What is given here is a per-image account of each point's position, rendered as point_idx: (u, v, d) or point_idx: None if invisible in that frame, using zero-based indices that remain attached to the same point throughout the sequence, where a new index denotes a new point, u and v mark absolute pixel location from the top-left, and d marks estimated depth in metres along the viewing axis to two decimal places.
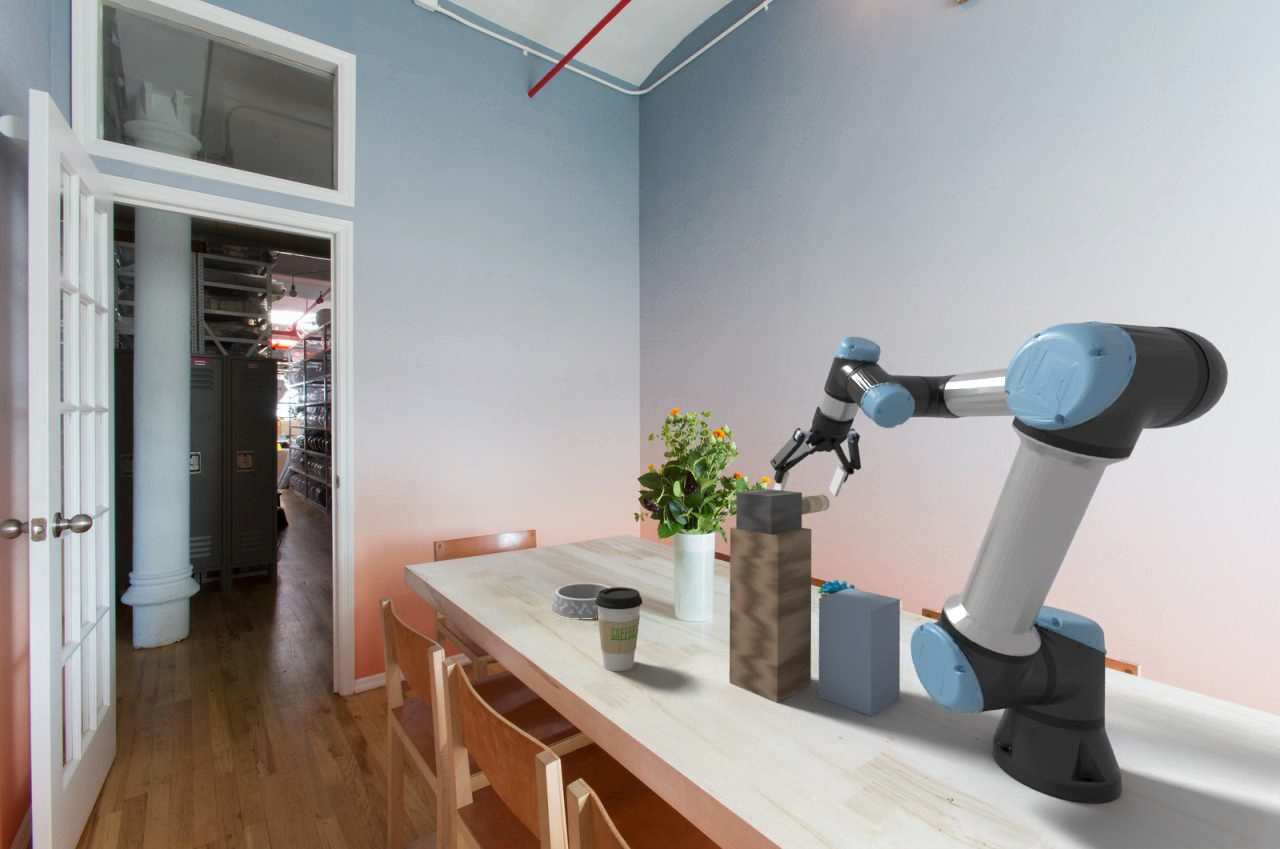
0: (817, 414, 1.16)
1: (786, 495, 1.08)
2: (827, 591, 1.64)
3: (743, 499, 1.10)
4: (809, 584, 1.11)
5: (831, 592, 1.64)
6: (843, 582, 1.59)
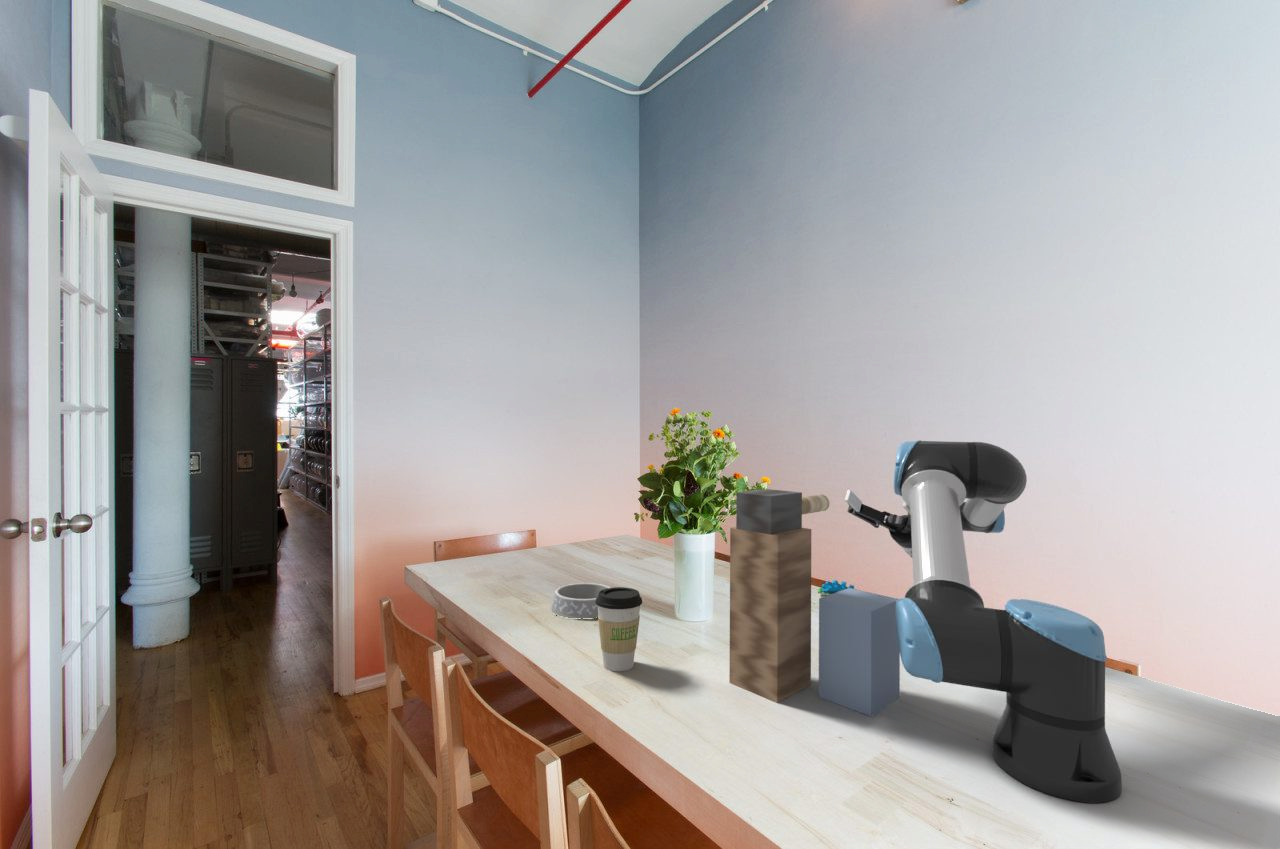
0: None
1: (786, 495, 1.08)
2: (827, 591, 1.64)
3: (743, 499, 1.10)
4: (809, 584, 1.11)
5: (831, 592, 1.64)
6: (842, 582, 1.59)
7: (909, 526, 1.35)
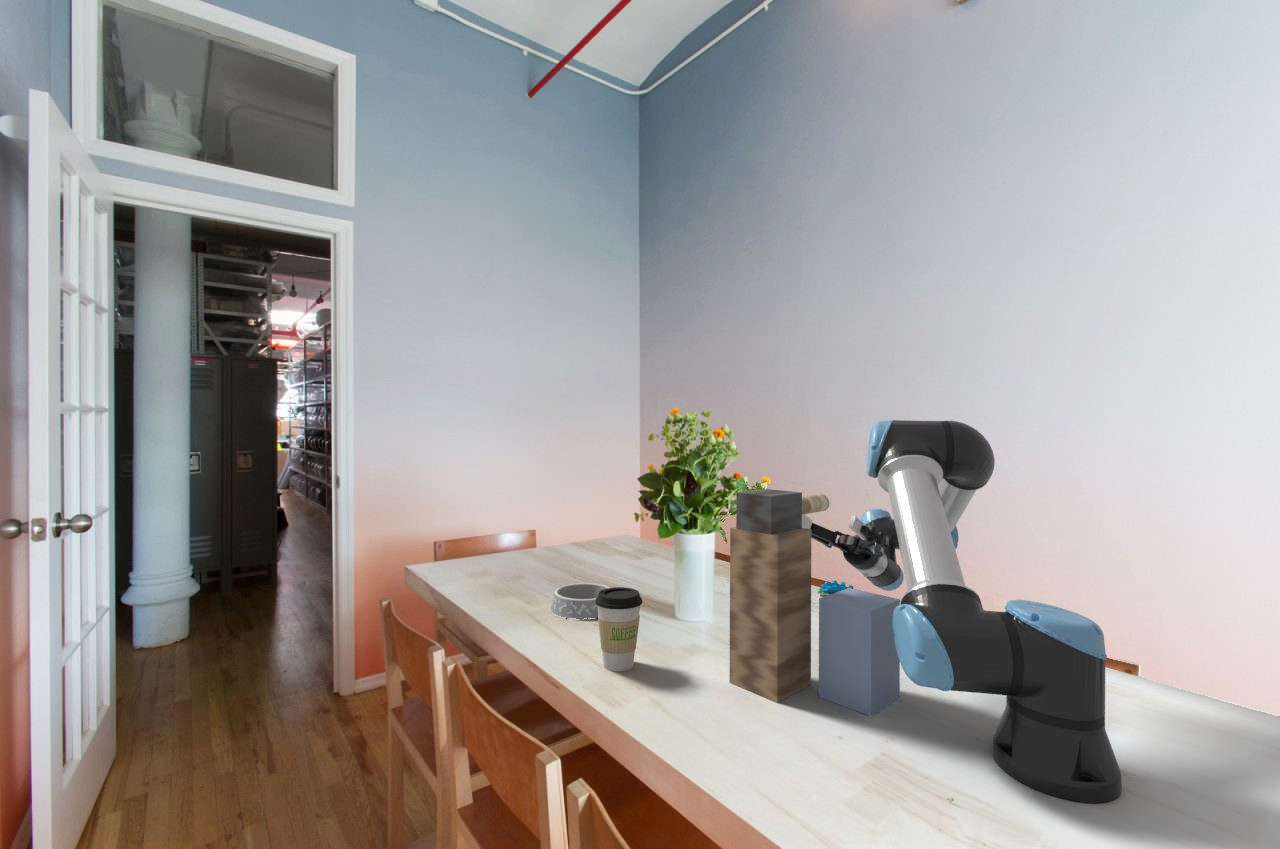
0: None
1: (786, 495, 1.08)
2: (826, 591, 1.64)
3: (743, 499, 1.10)
4: (809, 584, 1.11)
5: (830, 592, 1.64)
6: (841, 582, 1.59)
7: (860, 547, 1.29)
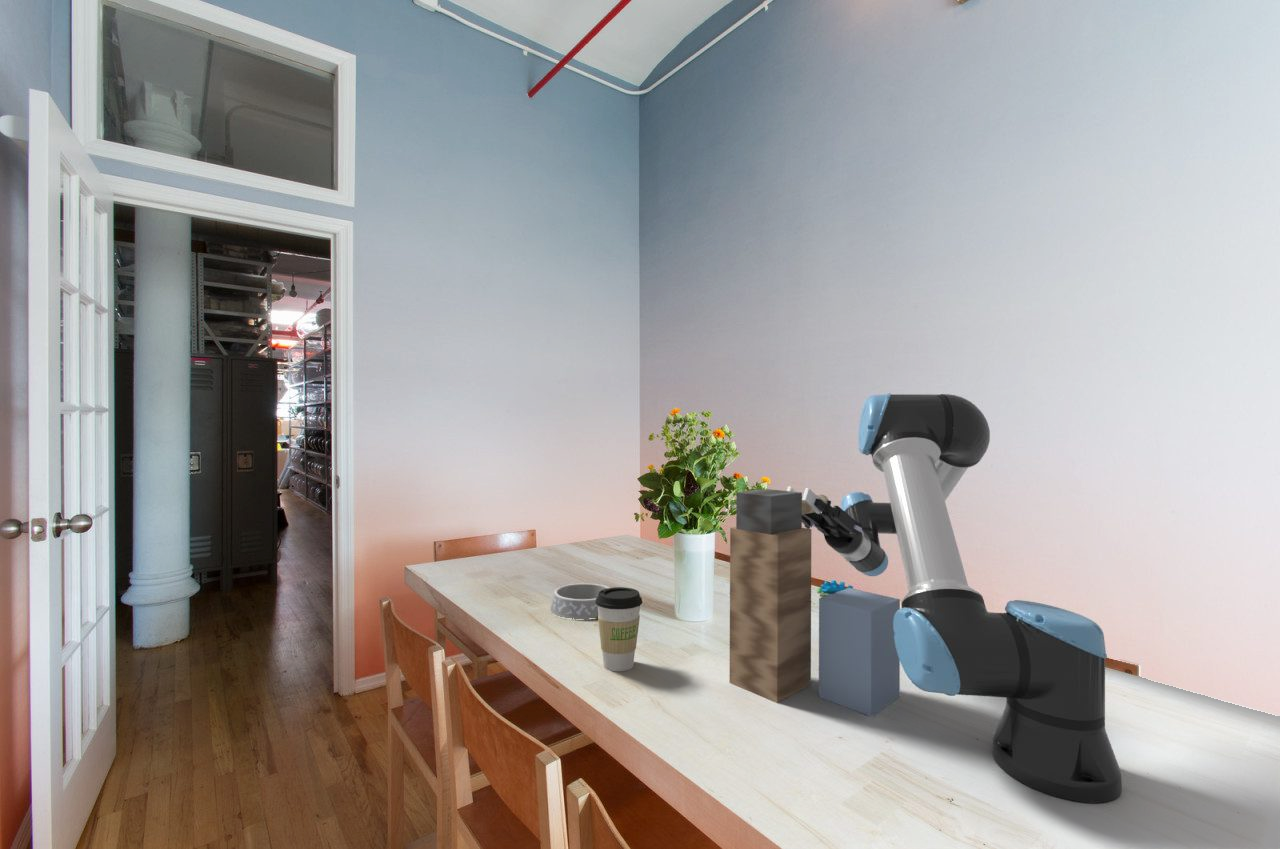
0: None
1: (786, 495, 1.08)
2: (826, 591, 1.64)
3: (743, 499, 1.10)
4: (809, 584, 1.11)
5: (830, 592, 1.64)
6: (841, 582, 1.59)
7: (832, 527, 1.23)
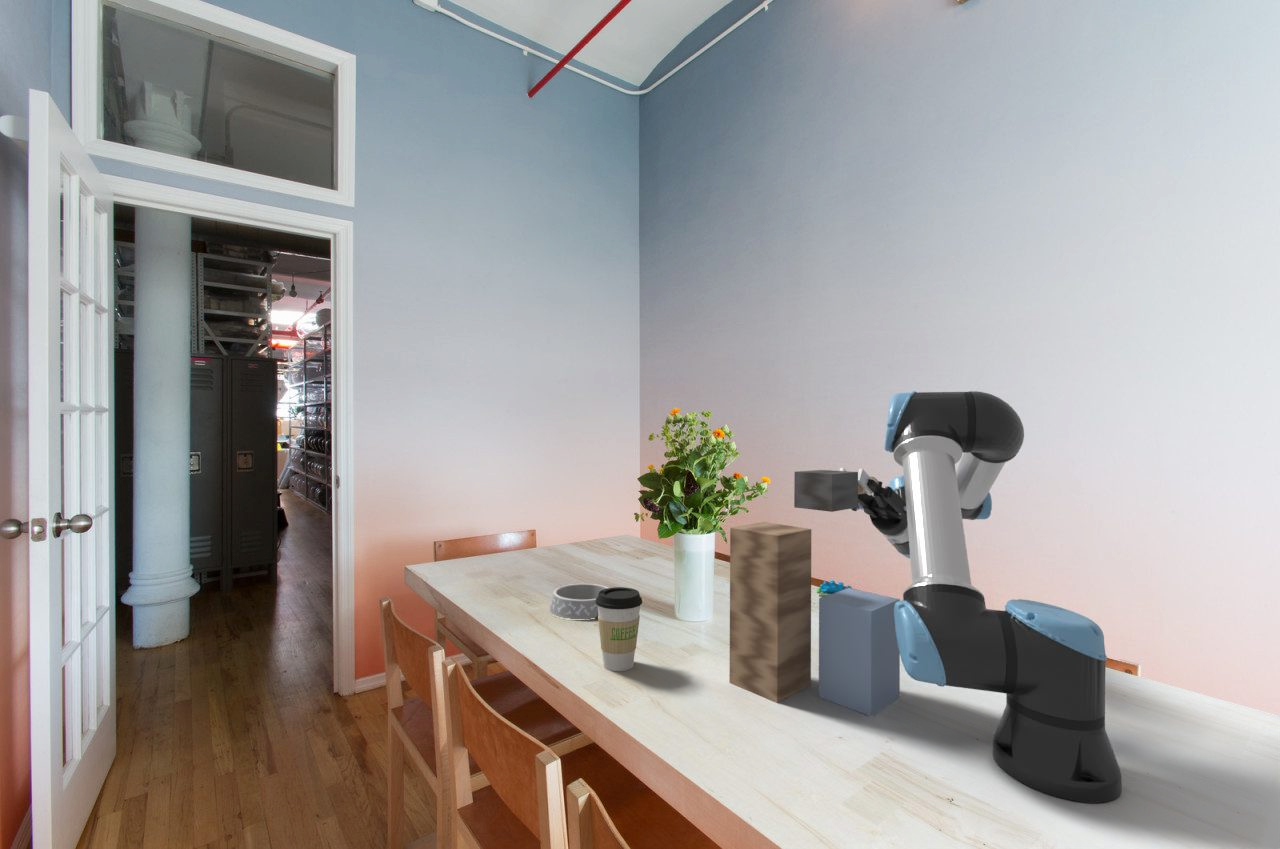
0: None
1: (844, 474, 1.10)
2: (825, 591, 1.64)
3: (802, 478, 1.12)
4: (809, 584, 1.11)
5: (829, 593, 1.64)
6: (839, 583, 1.59)
7: (881, 508, 1.26)
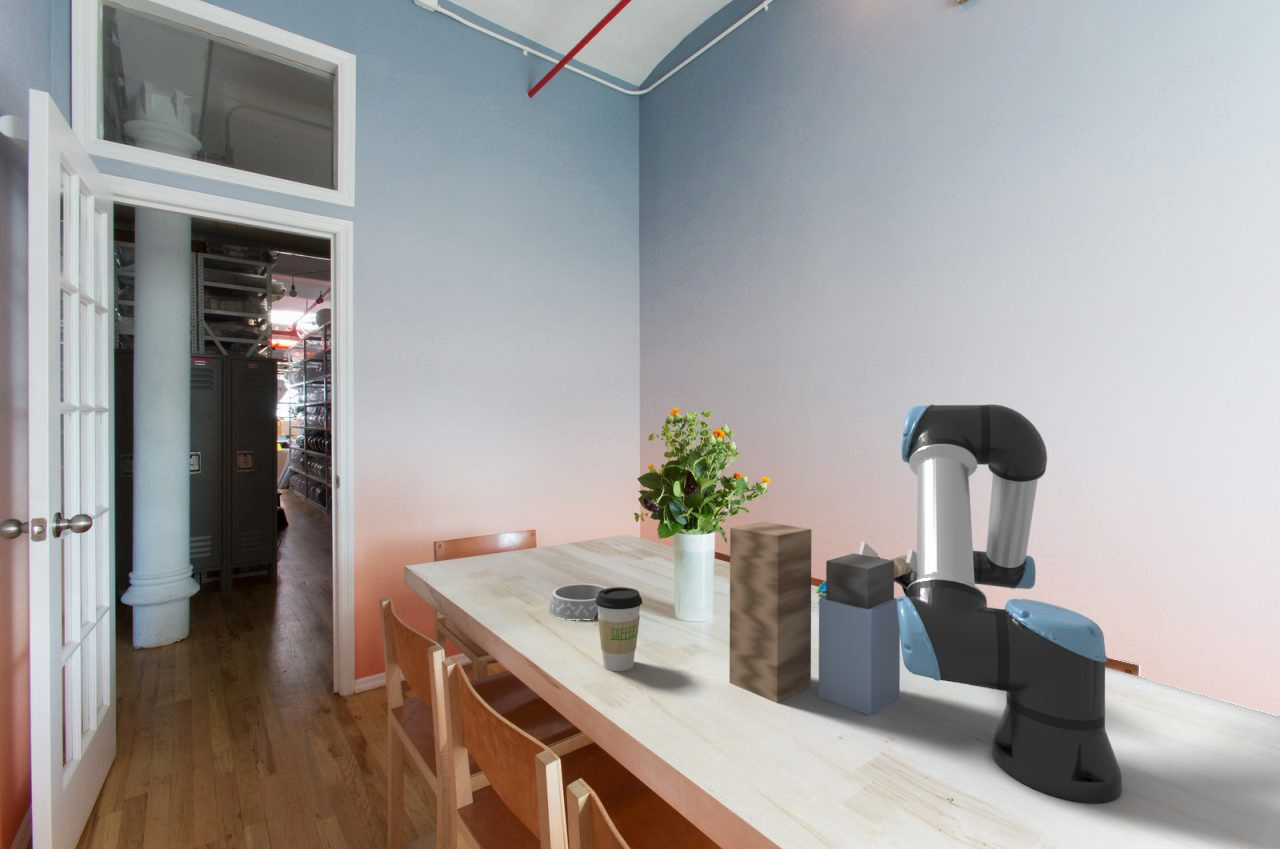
0: None
1: (880, 565, 1.04)
2: (825, 591, 1.64)
3: (834, 568, 1.05)
4: (809, 584, 1.11)
5: None
6: None
7: None
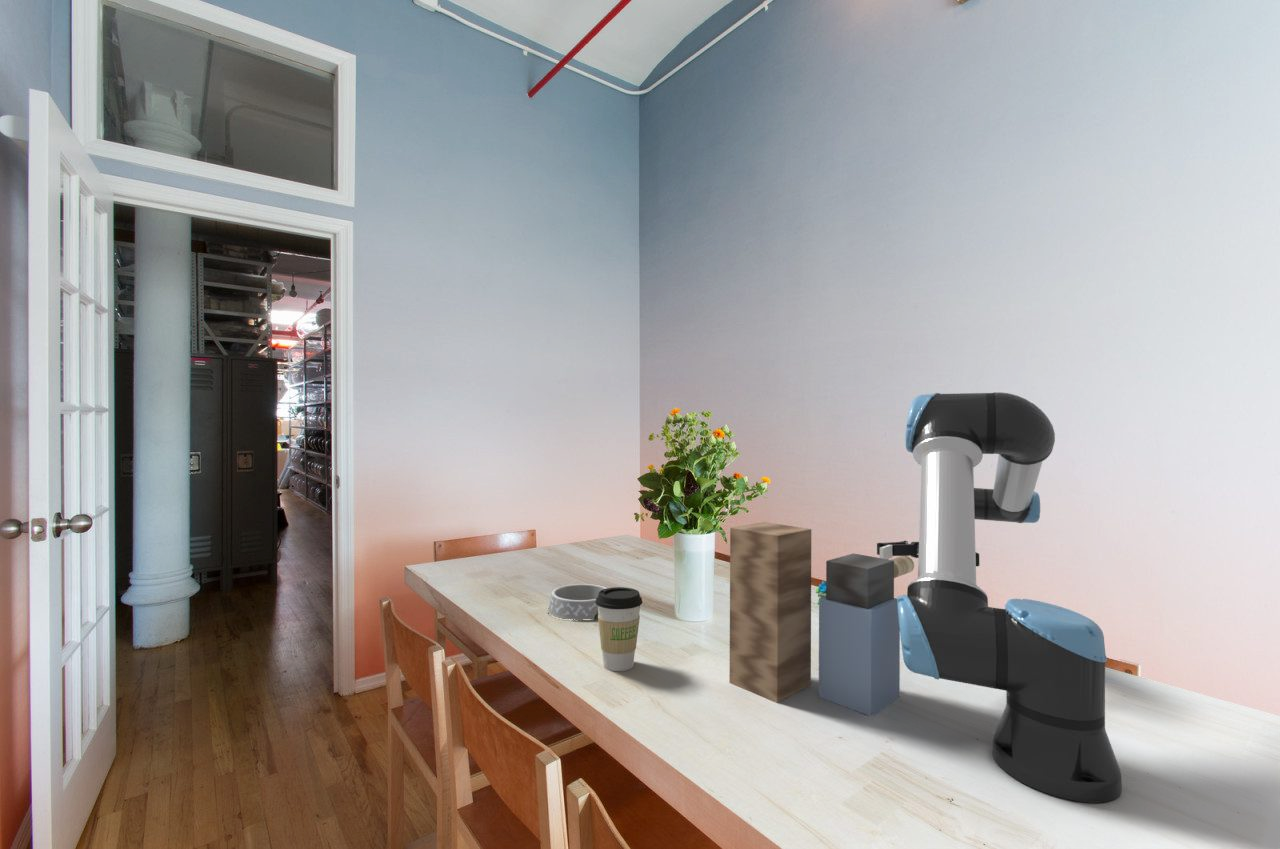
0: None
1: (880, 565, 1.04)
2: (824, 592, 1.64)
3: (834, 568, 1.05)
4: (809, 584, 1.11)
5: None
6: None
7: None
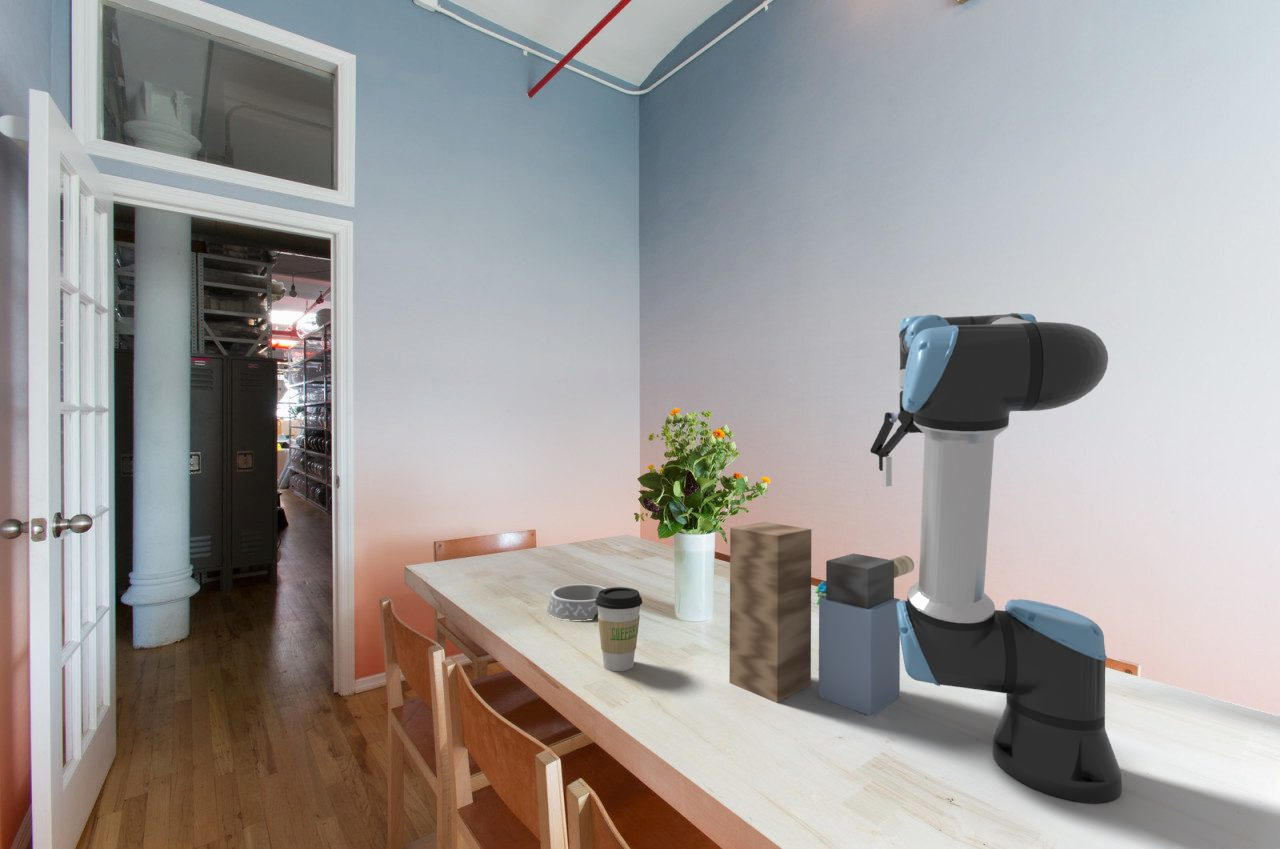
0: None
1: (880, 565, 1.04)
2: (824, 592, 1.64)
3: (834, 568, 1.05)
4: (809, 584, 1.11)
5: None
6: None
7: None
